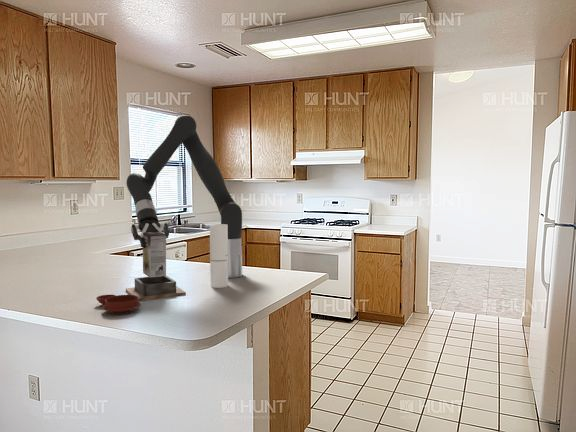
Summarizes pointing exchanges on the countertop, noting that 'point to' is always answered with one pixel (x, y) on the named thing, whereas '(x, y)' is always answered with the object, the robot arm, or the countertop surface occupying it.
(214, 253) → the cylindrical container
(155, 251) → the coffee box
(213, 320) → the countertop surface
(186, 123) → the robot arm
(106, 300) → the pottery
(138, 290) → the docking cradle
